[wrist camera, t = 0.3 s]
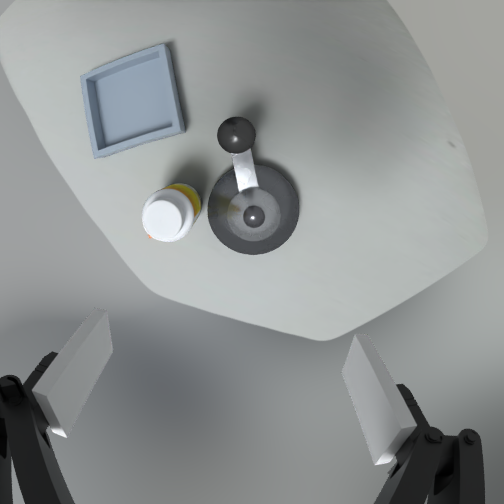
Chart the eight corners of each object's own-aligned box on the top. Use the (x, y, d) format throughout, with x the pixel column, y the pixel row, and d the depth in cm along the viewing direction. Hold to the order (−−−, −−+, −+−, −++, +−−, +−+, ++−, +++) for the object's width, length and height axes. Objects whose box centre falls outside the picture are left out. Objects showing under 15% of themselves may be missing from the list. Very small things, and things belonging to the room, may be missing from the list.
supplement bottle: (168, 176, 36) (144, 182, 26) (208, 192, 37) (199, 203, 27) (153, 216, 38) (127, 236, 28) (192, 232, 38) (179, 257, 29)
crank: (282, 231, 36) (289, 247, 31) (234, 240, 37) (231, 258, 31) (261, 117, 32) (264, 111, 26) (209, 128, 32) (201, 124, 26)
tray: (90, 79, 31) (80, 76, 28) (169, 50, 30) (163, 43, 28) (104, 157, 35) (94, 158, 32) (185, 132, 34) (180, 131, 32)
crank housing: (200, 174, 36) (198, 176, 34) (288, 157, 36) (290, 157, 34) (220, 256, 40) (218, 262, 38) (302, 240, 39) (305, 245, 37)
